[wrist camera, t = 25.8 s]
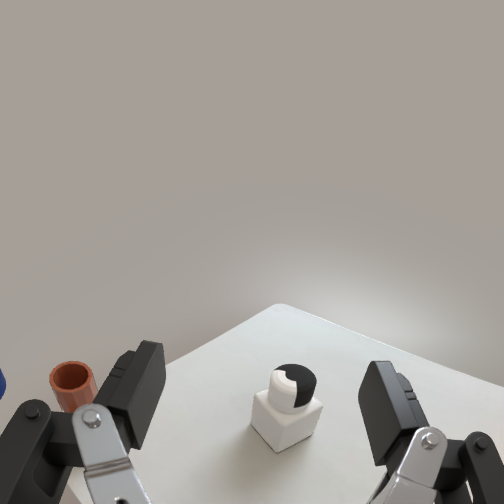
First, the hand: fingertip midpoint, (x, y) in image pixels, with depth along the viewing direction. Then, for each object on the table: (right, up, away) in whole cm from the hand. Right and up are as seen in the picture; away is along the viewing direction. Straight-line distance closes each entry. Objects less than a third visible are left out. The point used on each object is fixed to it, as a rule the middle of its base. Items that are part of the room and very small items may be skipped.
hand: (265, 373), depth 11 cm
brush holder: (-23, -23, +23) cm, 39 cm away
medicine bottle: (+4, -23, +30) cm, 38 cm away
